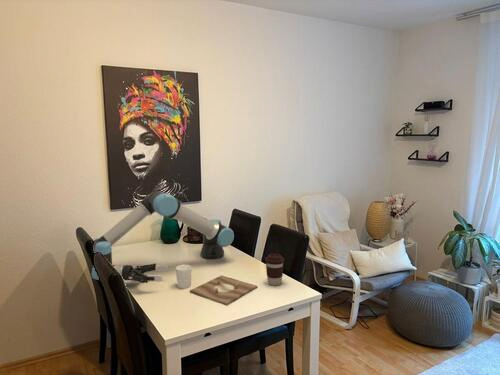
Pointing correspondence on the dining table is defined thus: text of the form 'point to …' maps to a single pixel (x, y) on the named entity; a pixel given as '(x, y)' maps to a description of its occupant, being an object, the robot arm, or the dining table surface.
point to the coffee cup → (274, 269)
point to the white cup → (183, 276)
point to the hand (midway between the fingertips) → (164, 273)
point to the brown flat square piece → (223, 289)
